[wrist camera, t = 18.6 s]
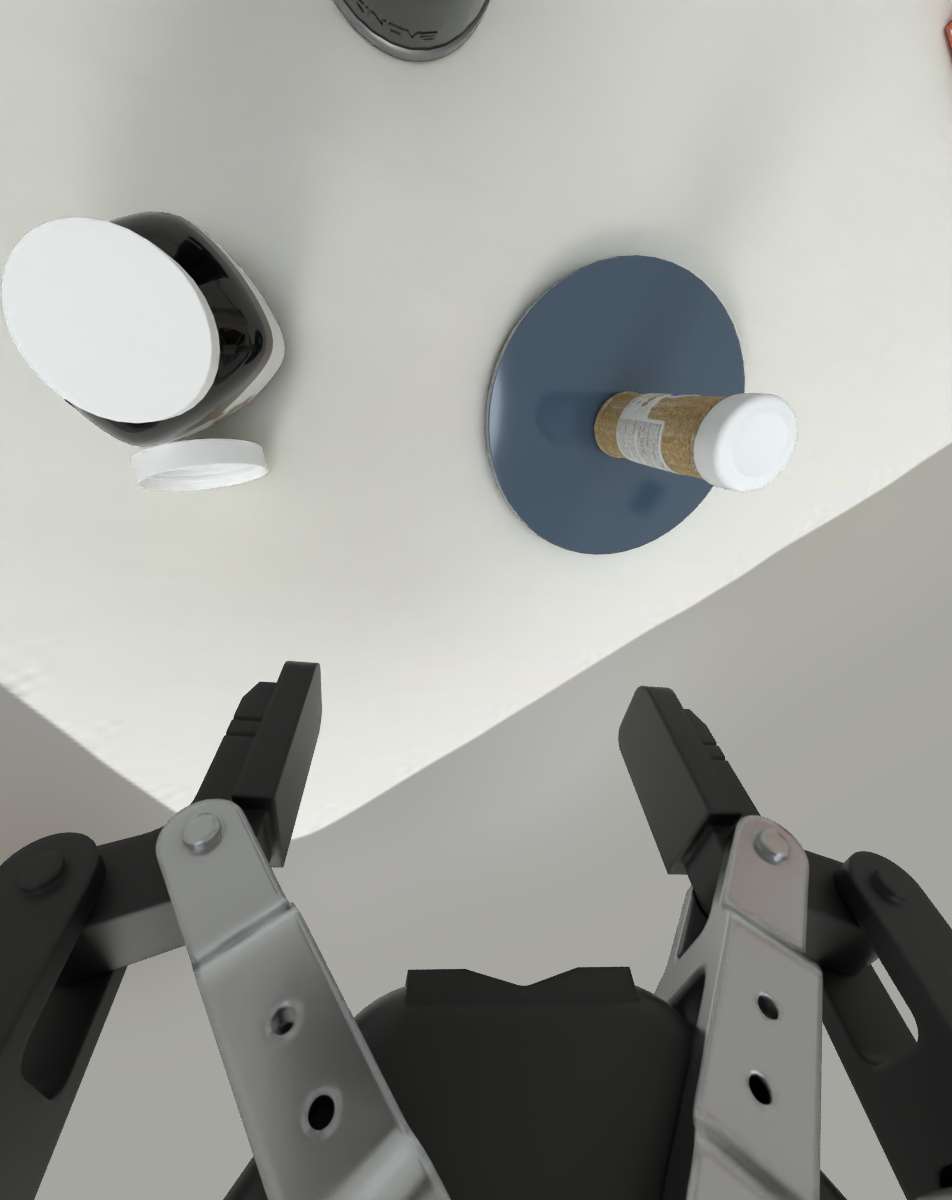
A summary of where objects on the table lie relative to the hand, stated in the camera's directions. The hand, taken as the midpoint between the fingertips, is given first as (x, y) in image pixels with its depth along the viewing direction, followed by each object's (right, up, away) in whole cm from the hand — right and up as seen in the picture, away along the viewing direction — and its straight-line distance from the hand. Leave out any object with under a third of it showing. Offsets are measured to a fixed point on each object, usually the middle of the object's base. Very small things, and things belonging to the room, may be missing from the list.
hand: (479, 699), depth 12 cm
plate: (+10, +16, +24) cm, 31 cm away
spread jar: (-16, +16, +17) cm, 29 cm away
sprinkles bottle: (+10, +15, +23) cm, 29 cm away
